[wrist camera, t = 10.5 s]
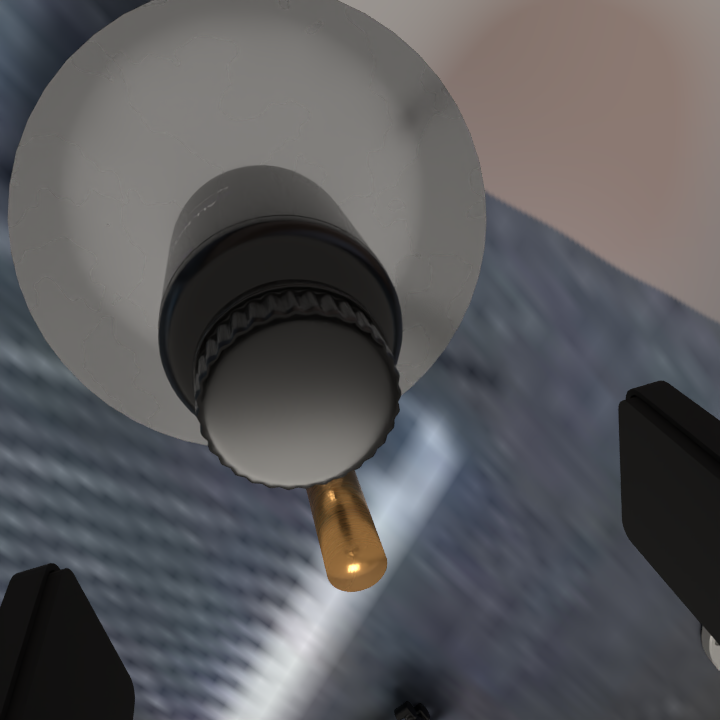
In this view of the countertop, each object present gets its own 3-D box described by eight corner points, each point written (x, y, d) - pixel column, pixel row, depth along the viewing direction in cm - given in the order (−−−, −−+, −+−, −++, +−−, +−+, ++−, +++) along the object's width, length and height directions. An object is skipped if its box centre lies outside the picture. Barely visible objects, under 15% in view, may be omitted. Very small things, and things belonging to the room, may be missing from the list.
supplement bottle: (160, 162, 24) (129, 262, 13) (349, 161, 25) (461, 250, 14) (177, 340, 27) (164, 540, 16) (346, 330, 28) (437, 508, 17)
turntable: (-79, 51, 22) (-189, 56, 16) (440, -66, 24) (528, -103, 17) (150, 540, 32) (139, 662, 26) (503, 432, 34) (572, 521, 28)
